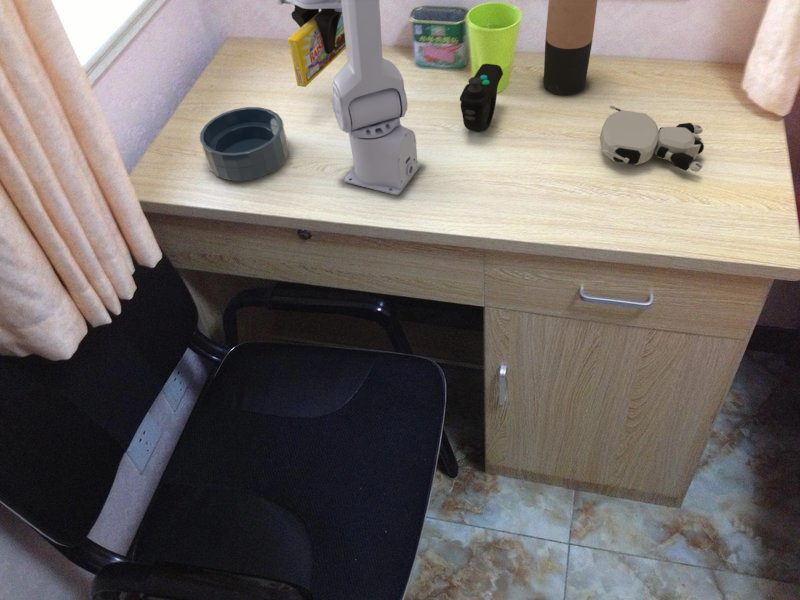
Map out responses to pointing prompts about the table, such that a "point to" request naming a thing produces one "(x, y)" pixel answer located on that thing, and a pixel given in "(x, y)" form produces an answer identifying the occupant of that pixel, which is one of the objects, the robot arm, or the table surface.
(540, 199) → the table surface
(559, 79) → the travel mug
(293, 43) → the candy box
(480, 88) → the controller
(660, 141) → the robot toy
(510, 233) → the table surface
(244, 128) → the bowl
